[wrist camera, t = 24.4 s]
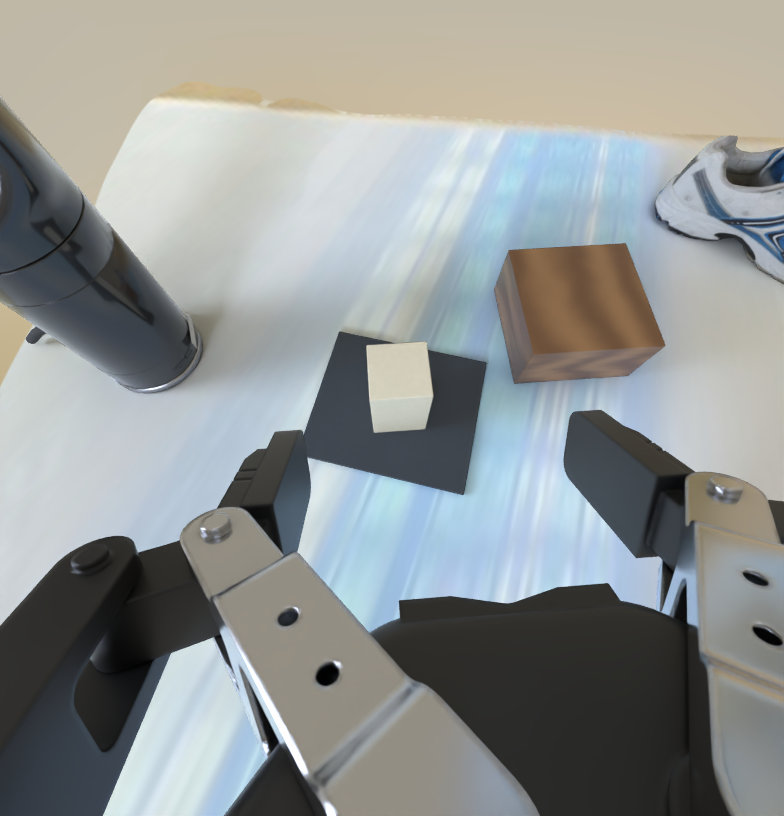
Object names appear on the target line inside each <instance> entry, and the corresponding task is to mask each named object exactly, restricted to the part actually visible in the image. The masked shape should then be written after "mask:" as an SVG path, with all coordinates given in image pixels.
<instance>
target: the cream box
mask: <svg viewBox="0 0 784 816" xmlns="http://www.w3.org/2000/svg"><path fill="white" fill-rule="evenodd" d="M366 348H367V365H368V382H369V400H370V407H371V415H372V422H373V429H374V433H378V432H392V431H407V430H421V429H425V428H426V424H427V420H428V416H429V412H430V407H431V403H432V399H433V389H432V381H431V373H430V365H429V357H428V349H427V342H410V343H395V344H380V345H367V346H366Z"/></svg>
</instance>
